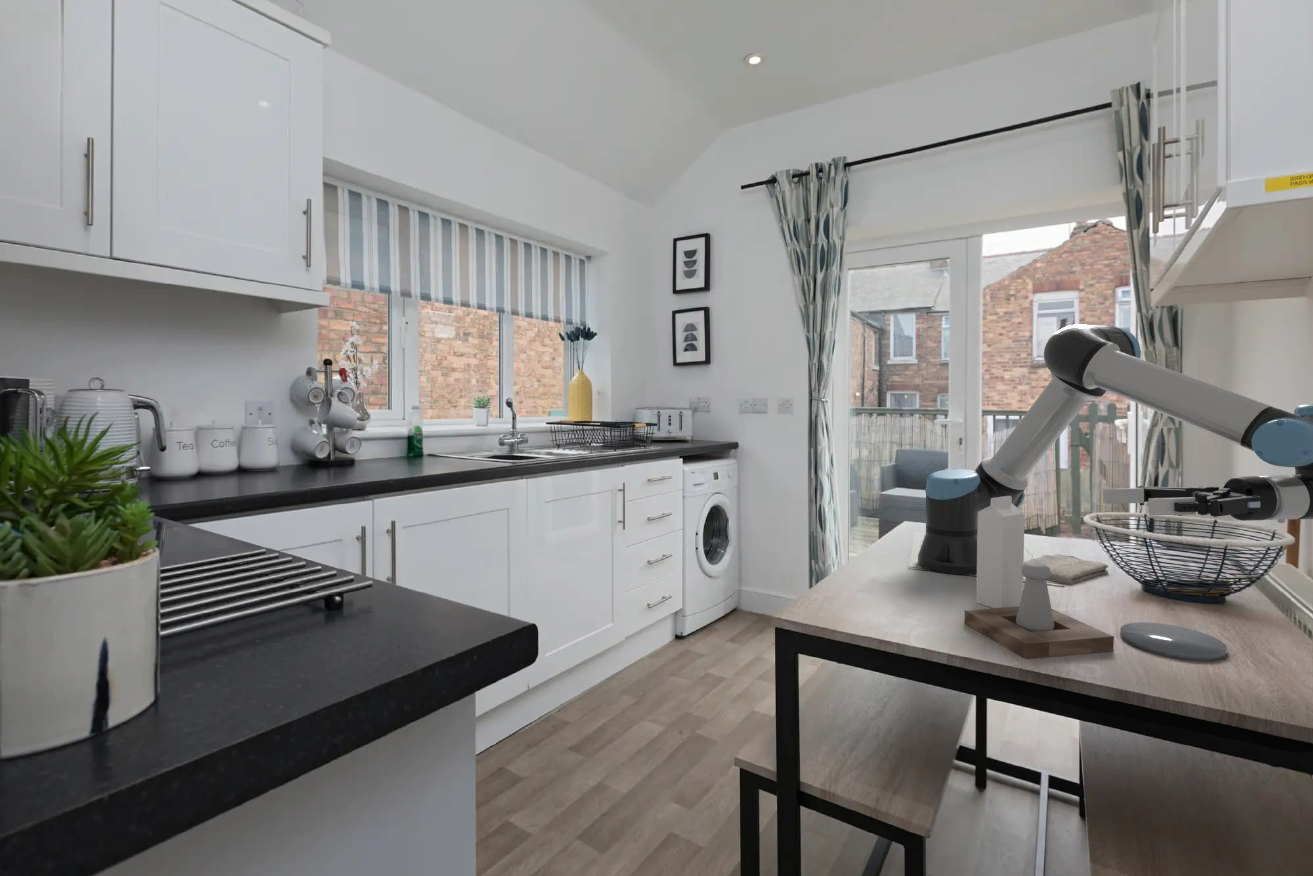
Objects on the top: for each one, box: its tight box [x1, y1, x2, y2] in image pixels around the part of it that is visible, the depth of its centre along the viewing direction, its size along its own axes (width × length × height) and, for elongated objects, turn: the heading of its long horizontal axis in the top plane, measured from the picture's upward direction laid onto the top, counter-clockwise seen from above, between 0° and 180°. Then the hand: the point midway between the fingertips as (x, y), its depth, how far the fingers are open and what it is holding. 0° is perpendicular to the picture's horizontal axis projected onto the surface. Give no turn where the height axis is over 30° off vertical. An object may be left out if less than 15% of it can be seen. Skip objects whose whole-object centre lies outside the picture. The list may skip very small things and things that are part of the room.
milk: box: [975, 496, 1026, 608], centre depth 128 cm, size 6×6×22 cm
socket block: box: [964, 606, 1115, 660], centre depth 112 cm, size 16×16×2 cm
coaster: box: [1119, 621, 1228, 662], centre depth 108 cm, size 14×14×1 cm
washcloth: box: [1023, 553, 1109, 585], centre depth 149 cm, size 12×18×3 cm, turn 121°
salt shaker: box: [1016, 562, 1054, 632], centre depth 111 cm, size 6×6×13 cm
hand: (1125, 501), depth 111 cm, fingers open, 13 cm apart
